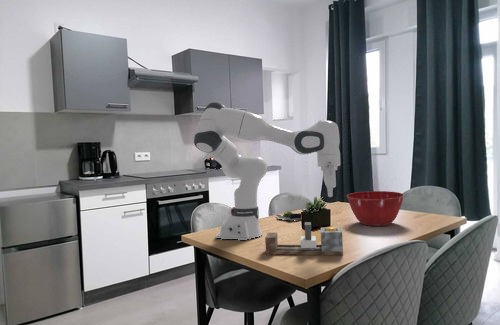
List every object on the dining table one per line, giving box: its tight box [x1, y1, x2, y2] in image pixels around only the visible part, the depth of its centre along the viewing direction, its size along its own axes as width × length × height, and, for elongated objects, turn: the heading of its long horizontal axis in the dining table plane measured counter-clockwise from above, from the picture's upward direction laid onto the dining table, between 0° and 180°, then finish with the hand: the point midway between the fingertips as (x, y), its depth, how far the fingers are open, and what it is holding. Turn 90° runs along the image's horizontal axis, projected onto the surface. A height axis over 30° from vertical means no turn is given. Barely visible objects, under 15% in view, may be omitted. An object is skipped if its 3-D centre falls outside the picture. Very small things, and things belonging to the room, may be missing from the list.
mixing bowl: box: [346, 190, 405, 227], centre depth 188 cm, size 28×28×16 cm
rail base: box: [264, 226, 344, 256], centre depth 144 cm, size 30×8×9 cm, turn 80°
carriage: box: [300, 221, 317, 248], centre depth 144 cm, size 6×7×9 cm
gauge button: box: [325, 226, 336, 231], centre depth 142 cm, size 4×4×4 cm
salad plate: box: [275, 211, 302, 222], centre depth 212 cm, size 19×18×5 cm
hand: (330, 196), depth 142 cm, fingers closed
